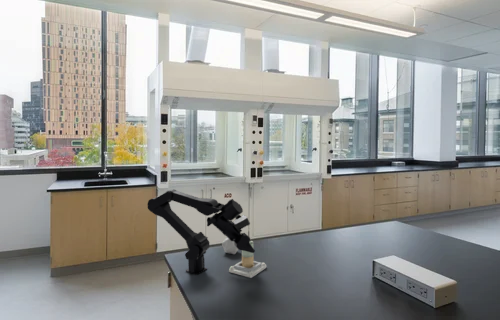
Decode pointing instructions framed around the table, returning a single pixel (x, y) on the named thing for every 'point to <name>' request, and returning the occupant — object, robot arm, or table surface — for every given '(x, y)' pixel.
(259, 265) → the baseplate
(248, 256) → the tan and green cylinder
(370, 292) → the table surface
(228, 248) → the die
